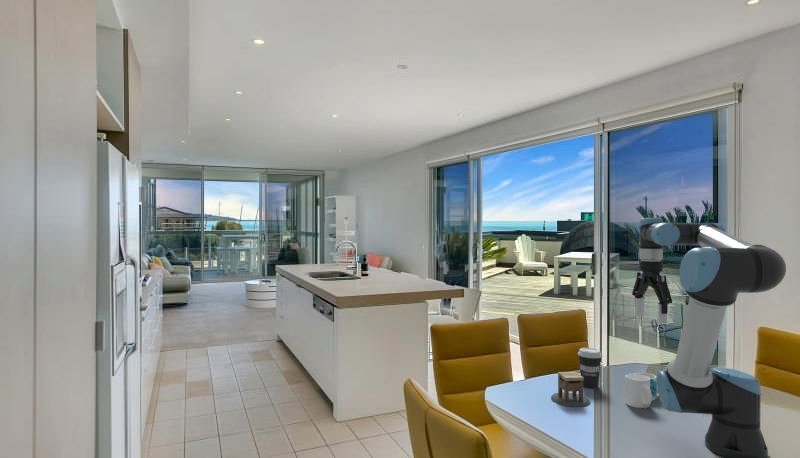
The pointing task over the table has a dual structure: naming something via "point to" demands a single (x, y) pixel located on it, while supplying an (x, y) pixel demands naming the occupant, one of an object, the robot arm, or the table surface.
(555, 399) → the mat
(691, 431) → the table surface
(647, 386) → the mug
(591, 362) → the coffee cup
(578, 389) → the stool
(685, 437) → the table surface
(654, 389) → the mug
